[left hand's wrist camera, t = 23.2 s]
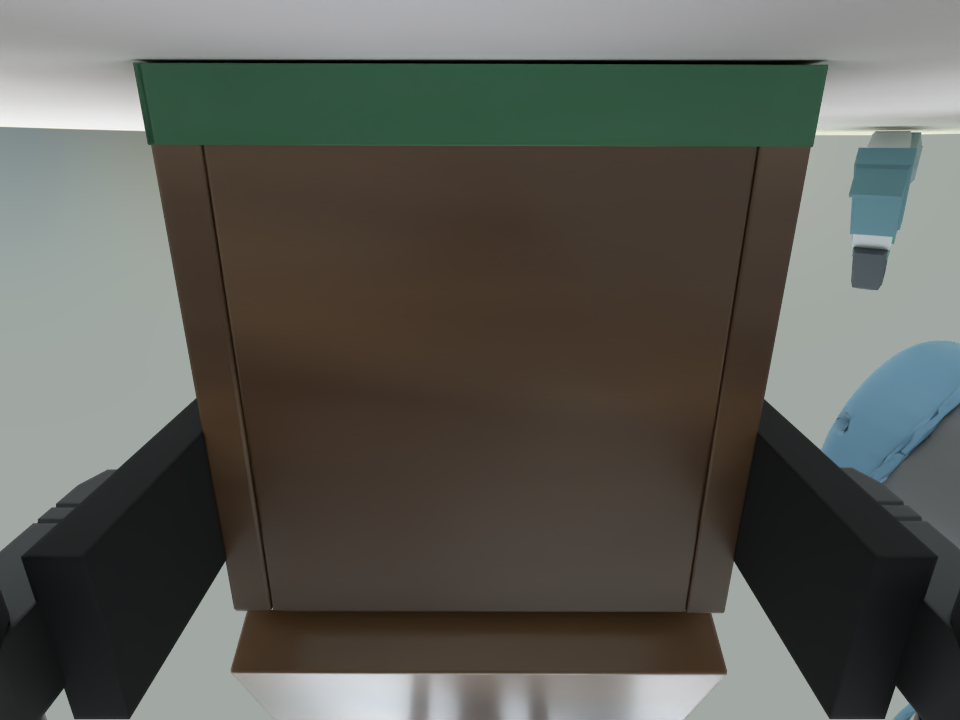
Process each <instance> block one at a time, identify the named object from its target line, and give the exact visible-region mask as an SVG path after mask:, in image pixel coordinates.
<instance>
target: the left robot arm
mask: <svg viewBox="0 0 960 720" xmlns="http://www.w3.org/2000/svg"><path fill="white" fill-rule="evenodd" d="M225 561H226V558H225V552H224V547H223V541H222V536H221V530H220V525H219V519H218V514H217V508H216V503H215V497H214V492H213V486H212V481H211V475H210V470H209V464H208V459H207V453H206V448H205V442H204V437H203V431H202V425H201V420H200V414H199V409H198V403H197V398H196V399H195V400H194V401H193V402H192V403H190V404H189V405H188V406H187V407H186V408H185V409H184V410H183V411H182V412H181V413H179V414H178V415H177V416H176V417H175V418H174V419H173V420H172V421H171V422H169V423H168V424H167V425H166V426H165V427H164V428H163V429H162V430H161V431H159V432H158V433H157V434H156V435H155V436H154V437H153V438H152V439H151V440H149V441H148V442H147V443H146V444H145V445H144V446H143V447H142V448H141V449H140V450H138V451H137V452H136V453H135V454H134V455H133V456H132V457H131V458H130V459H128V460H127V461H126V462H125V463H124V464H123V465H122V466H121V467H120V468H119V469H117V470H106V471H104V472H102V473H100V474H99V475H97V476H95V477H93V478H91V479H89V480H87V481H85V482H83V483H81V484H80V485H78V486H77V487H75V488H74V489H73V490H72V491H71V492H70V493H68V494H67V495H66V496H65V497H64V498H62V499H61V500H60V501H59V502H58V503H57V504H56V508H51V509H50V510H48V511H47V512H46V513H45V514H44V515H43V516H41V517H40V518H39V519H38V523H34V524H32V525H31V526H30V527H29V528H27V529H26V530H25V531H24V532H23V533H21V534H20V535H19V536H18V537H17V538H16V539H14V540H13V541H12V542H11V543H10V544H9V545H7V546H6V547H5V548H4V549H3V550H2V551H0V720H47V719H46V716H45V712H46V711H47V710H48V708H49V707H50V706H51V704H52V703H53V702H54V700H55V699H56V698H57V696H58V695H59V694H60V692H61V691H62V690H63V689H65V692H66V695H67V698H68V701H69V704H70V707H71V710H72V713H73V716H74V719H130V717H131V716H132V714H133V713H134V711H135V709H136V708H137V706H138V704H139V703H140V701H141V699H142V698H143V696H144V694H145V693H146V691H147V689H148V688H149V686H150V685H151V683H152V681H153V680H154V678H155V676H156V675H157V673H158V671H159V670H160V668H161V666H162V665H163V663H164V661H165V660H166V658H167V656H168V655H169V653H170V652H171V650H172V648H173V647H174V645H175V643H176V642H177V640H178V638H179V637H180V635H181V633H182V632H183V630H184V628H185V627H186V625H187V624H188V622H189V620H190V619H191V617H192V615H193V614H194V612H195V610H196V609H197V607H198V605H199V604H200V602H201V600H202V599H203V597H204V595H205V594H206V592H207V590H208V589H209V587H210V586H211V584H212V582H213V581H214V579H215V577H216V576H217V574H218V572H219V571H220V569H221V567H222V566H223V564H224V562H225ZM734 562H735V564H736V565H737V567H738V569H739V570H740V572H741V573H742V575H743V577H744V578H745V580H746V582H747V583H748V585H749V587H750V588H751V590H752V592H753V593H754V595H755V597H756V598H757V600H758V601H759V603H760V605H761V606H762V608H763V610H764V611H765V613H766V615H767V616H768V618H769V620H770V621H771V623H772V625H773V626H774V628H775V630H776V631H777V633H778V634H779V636H780V638H781V639H782V641H783V643H784V644H785V646H786V648H787V649H788V651H789V653H790V654H791V656H792V658H793V659H794V661H795V663H796V664H797V666H798V667H799V669H800V671H801V672H802V674H803V676H804V677H805V679H806V681H807V682H808V684H809V686H810V687H811V689H812V691H813V692H814V694H815V696H816V697H817V699H818V701H819V702H820V704H821V705H822V707H823V709H824V710H825V712H826V714H827V715H828V717H829V718H830V719H885V716H886V713H887V710H888V707H889V704H890V701H891V698H892V695H893V692H894V689H895V686H897V688H898V689H899V690H900V691H901V693H902V694H903V695H904V697H905V698H906V699H907V701H908V702H909V703H910V705H911V706H912V707H913V709H914V710H915V711H916V713H915V716H914V719H913V720H960V549H959V548H958V547H957V546H955V545H954V544H953V543H952V542H951V541H949V540H948V539H947V538H946V537H945V536H944V535H942V534H941V533H940V532H939V531H938V530H937V529H935V528H934V527H933V526H932V525H931V524H929V523H928V522H927V521H922V517H921V516H920V515H919V514H918V513H916V512H915V511H914V510H913V509H912V508H911V507H909V506H908V505H904V502H903V501H902V500H901V499H900V498H899V497H898V496H896V495H895V494H894V493H893V492H892V491H891V490H889V489H888V488H887V487H886V486H885V485H883V484H882V483H881V482H879V481H877V480H875V479H873V478H871V477H869V476H867V475H865V474H863V473H861V472H860V471H858V470H856V469H854V468H840V467H839V466H837V465H836V464H835V463H834V462H833V461H832V460H831V459H830V458H829V457H828V456H826V455H825V454H824V453H823V452H822V451H821V450H820V449H819V448H818V447H816V446H815V445H814V444H813V443H812V442H811V441H810V440H809V439H808V438H806V437H805V436H804V435H803V434H802V433H801V432H800V431H799V430H798V429H797V428H795V427H794V426H793V425H792V424H791V423H790V422H789V421H788V420H787V419H785V418H784V417H783V416H782V415H781V414H780V413H779V412H778V411H777V410H776V409H774V408H773V407H772V406H771V405H770V404H769V403H768V402H767V401H766V400H764V401H763V406H762V412H761V417H760V423H759V428H758V432H757V436H756V442H755V447H754V453H753V458H752V464H751V469H750V475H749V480H748V486H747V491H746V497H745V502H744V507H743V513H742V518H741V524H740V529H739V535H738V540H737V546H736V551H735V557H734Z"/></svg>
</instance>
